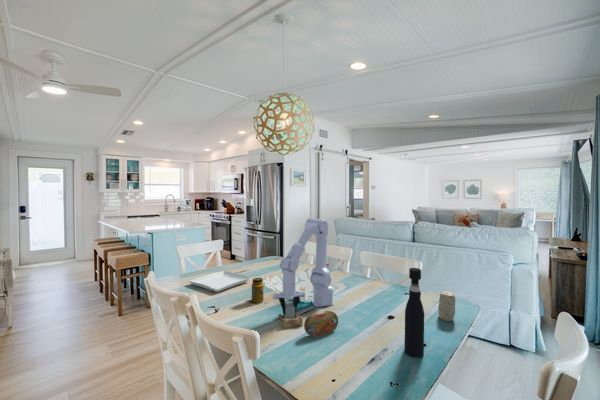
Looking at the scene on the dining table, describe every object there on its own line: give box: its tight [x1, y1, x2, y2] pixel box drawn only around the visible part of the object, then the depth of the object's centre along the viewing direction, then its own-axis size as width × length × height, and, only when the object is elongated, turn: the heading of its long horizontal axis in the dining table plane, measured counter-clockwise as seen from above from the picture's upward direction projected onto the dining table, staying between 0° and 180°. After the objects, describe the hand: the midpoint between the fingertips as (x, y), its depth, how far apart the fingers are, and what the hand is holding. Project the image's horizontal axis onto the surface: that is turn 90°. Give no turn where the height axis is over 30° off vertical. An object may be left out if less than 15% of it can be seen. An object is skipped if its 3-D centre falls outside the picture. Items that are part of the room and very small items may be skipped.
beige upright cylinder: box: [437, 290, 456, 322], centre depth 128 cm, size 6×8×12 cm
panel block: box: [283, 300, 296, 319], centre depth 129 cm, size 4×7×6 cm, turn 13°
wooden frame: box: [277, 311, 304, 329], centre depth 125 cm, size 9×11×4 cm
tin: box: [303, 310, 339, 338], centre depth 115 cm, size 15×3×8 cm, turn 117°
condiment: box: [245, 277, 267, 306], centre depth 147 cm, size 7×8×12 cm
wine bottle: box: [404, 267, 425, 359], centre depth 101 cm, size 6×6×30 cm
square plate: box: [188, 270, 252, 293], centre depth 176 cm, size 27×27×4 cm
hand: (289, 313), depth 128 cm, fingers closed on panel block, 4 cm apart
